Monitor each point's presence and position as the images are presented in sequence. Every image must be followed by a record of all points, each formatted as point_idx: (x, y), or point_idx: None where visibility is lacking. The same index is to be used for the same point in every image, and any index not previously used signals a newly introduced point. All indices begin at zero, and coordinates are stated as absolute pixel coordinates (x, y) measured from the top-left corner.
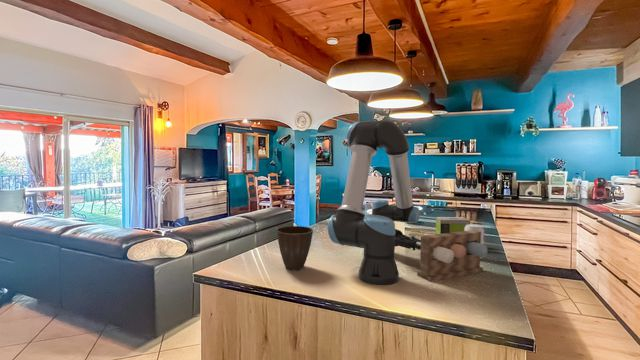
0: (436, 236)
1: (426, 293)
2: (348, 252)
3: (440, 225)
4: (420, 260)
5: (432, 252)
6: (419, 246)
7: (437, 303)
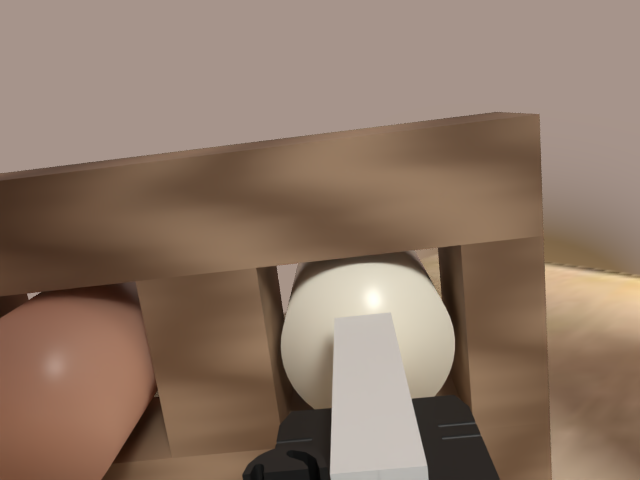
0: (343, 132)
1: (633, 393)
2: None
3: None
4: (549, 440)
5: (441, 283)
6: (456, 407)
7: (614, 333)
